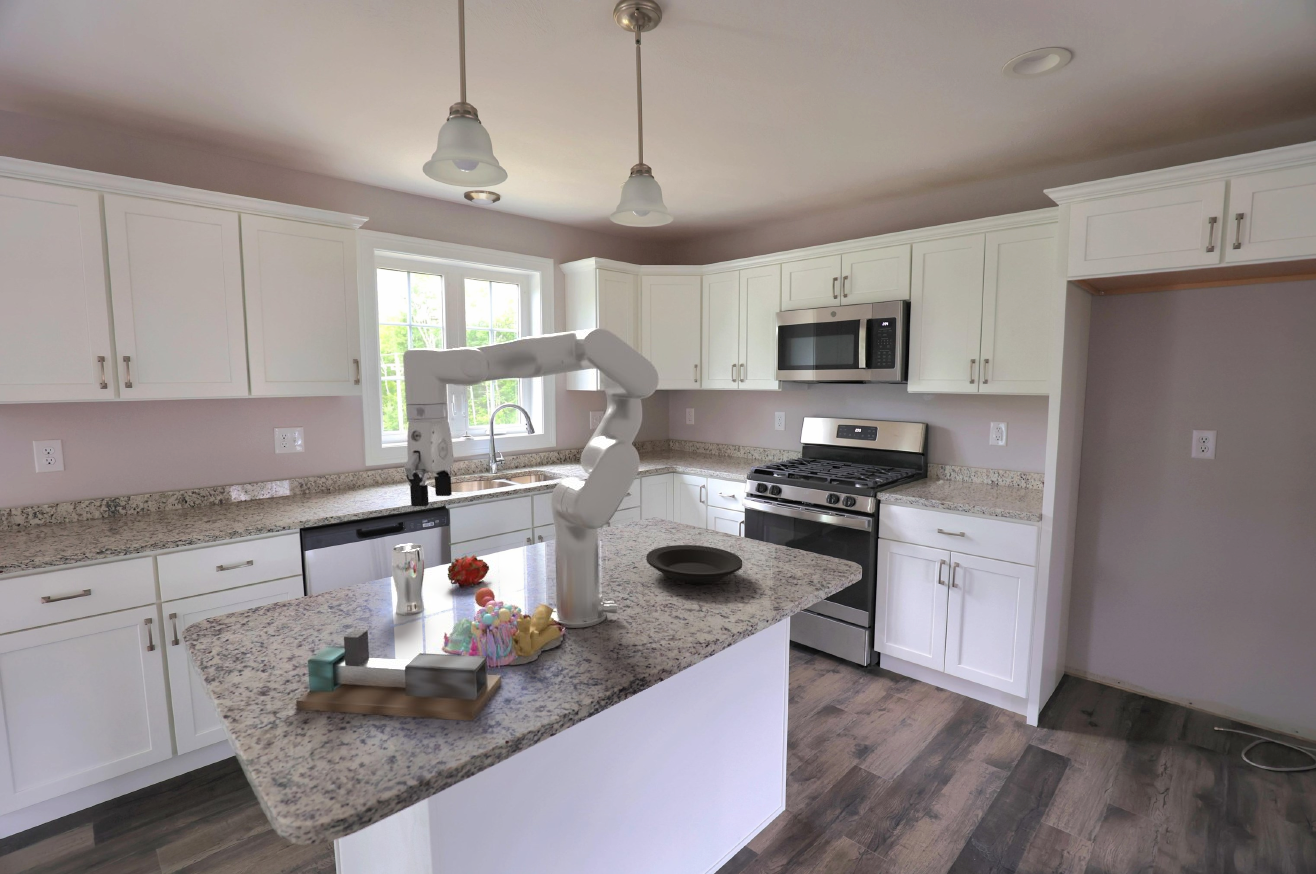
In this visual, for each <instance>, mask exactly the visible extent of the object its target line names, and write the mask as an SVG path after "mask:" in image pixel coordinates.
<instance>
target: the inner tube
mask: <svg viewBox="0 0 1316 874" xmlns="http://www.w3.org/2000/svg"><path fill="white" fill-rule="evenodd" d="M343 644H344V645H343V647H344V649H345V657H341V658H339V659H338V660H337V661H335V662H334V663H332V664H333V681H334V683H338V684H354V685H371V686H388V687H405V688H406V686H405V666H406V665H407V664H408V663H409V662H410V661H412V660H413V659H410V660H409V659H397V658H396V659H394V658H379V657H378V658H376V657H370V652H369V651H370V649H369V648H370V647H369V632H368V629H367V630H366V629H353V630H352V631H350V632H349V633H347V634H346V635H344V636H343Z"/></svg>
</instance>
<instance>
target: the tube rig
mask: <svg viewBox="0 0 1316 874" xmlns="http://www.w3.org/2000/svg"><path fill="white" fill-rule="evenodd" d="M341 657H345V649H344V646H335V645H334V646H333V645H329V646H327V647H326V648H324V649H323V650H321V651H319V652H318V653H317V654H315V655H313V656H312V657H311V658H310V659H308V660H307V667H308V668H307V669H308V684H309V685H308V686H309V690H308V691H307V692H306V693H305V694H303V695H302V696H300V697H299V698H297V699H296V700H295V701H296V703H295V704H296V710H300V709H304V711H315V710H320V712H331V713H332V712H333V713H334V712H336V713H349V714H350V713H351V714H362V715H363V714H365V715H379V716H393V717H394V716H395V717H408V718H409V717H411V718H426V719H439V720H440V719H441V720H454V721H455V720H456V721H472V722H473V721H474V720H475V718H476V717H477V715H478V714H479V713H480V712H481V710H482V709H483V708H484V707H485V706H486V704H487V703H488V702H489V700H490V699H491V697H493V695H494V693H495V692H496V691H497V689H498V688H499V687H500V686H501V684H502V675H500V674H488V666H487V657H483V656H464V655H460V654H443V653H425V652H424V653H421V652H419V653H418V654H417V655H416V656H415V657H414V658H413V659H411V660H412V661H410V662H409V663H408V664H407V665H406V666H405V686H406V688H405V687H388V686H371V685H354V684H338V683H334V681H333V664H332V663H334V662H335V661H337V660H338V659H339V658H341Z"/></svg>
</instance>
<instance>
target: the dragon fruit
mask: <svg viewBox="0 0 1316 874" xmlns="http://www.w3.org/2000/svg"><path fill="white" fill-rule="evenodd" d="M453 560H454V561H452V562H451V564H450V565H449V566H448V567H447V571H448V573H447V578H448V580H449V581H450V584H451V585H457V584H458V587H459V588H463V587H464V586H466V587H470V588H472V587H474V585H481V584H482V583H483V582H484V578H485V577H486V576H487V574H488V573H489V570H490V565H488V563H487V562H486V561H484V559H480V558H479V559H478V557H477V556H476V555H472V556H471V557H468V556H467V555H465V556H464V557H462V558H458V557H457V558H455V559H453Z"/></svg>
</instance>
